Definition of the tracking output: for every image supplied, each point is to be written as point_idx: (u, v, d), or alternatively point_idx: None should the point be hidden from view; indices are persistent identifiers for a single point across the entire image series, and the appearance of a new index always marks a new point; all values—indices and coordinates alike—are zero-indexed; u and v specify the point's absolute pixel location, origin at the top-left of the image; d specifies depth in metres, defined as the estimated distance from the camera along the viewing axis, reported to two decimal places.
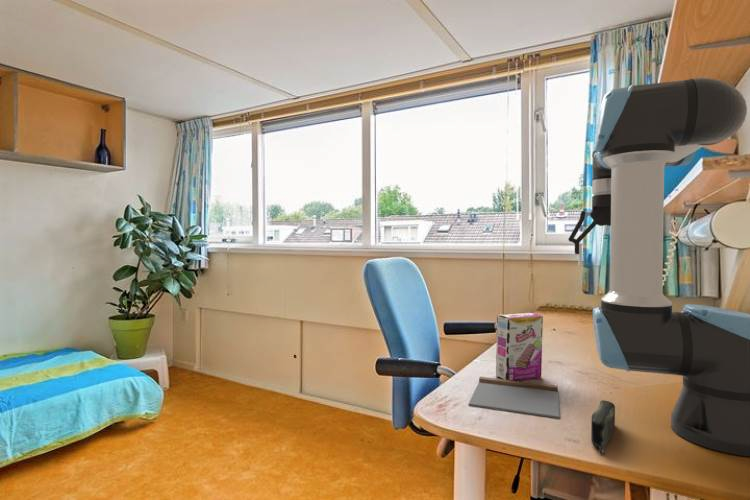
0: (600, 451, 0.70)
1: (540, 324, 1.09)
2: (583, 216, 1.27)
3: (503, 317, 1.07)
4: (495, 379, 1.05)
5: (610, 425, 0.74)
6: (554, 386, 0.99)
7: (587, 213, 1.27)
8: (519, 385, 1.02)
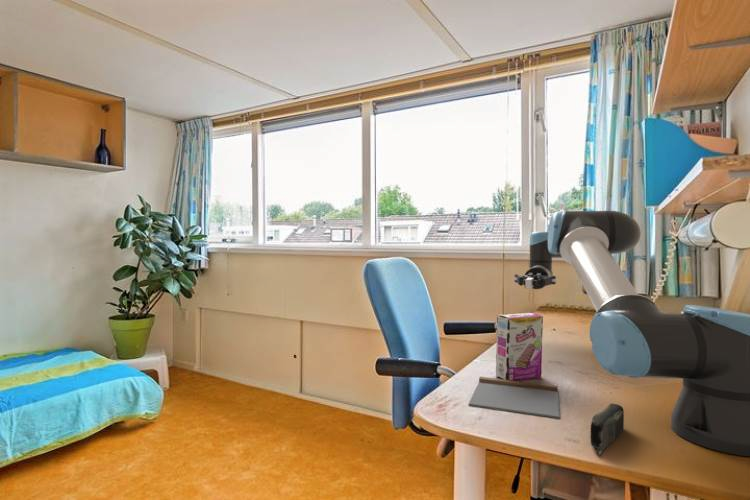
0: (597, 452, 0.70)
1: (540, 324, 1.09)
2: None
3: (503, 317, 1.07)
4: (495, 379, 1.05)
5: (612, 427, 0.73)
6: (554, 386, 0.99)
7: None
8: (519, 385, 1.02)
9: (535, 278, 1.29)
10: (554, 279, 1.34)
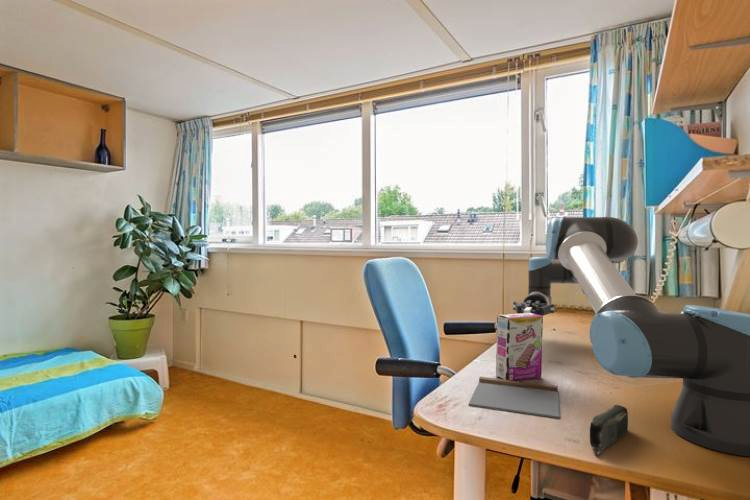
0: (595, 453, 0.70)
1: (540, 324, 1.09)
2: (517, 302, 1.39)
3: (503, 317, 1.07)
4: (495, 379, 1.05)
5: (612, 428, 0.73)
6: (554, 386, 0.99)
7: None
8: (519, 385, 1.02)
9: (533, 308, 1.28)
10: (553, 308, 1.34)
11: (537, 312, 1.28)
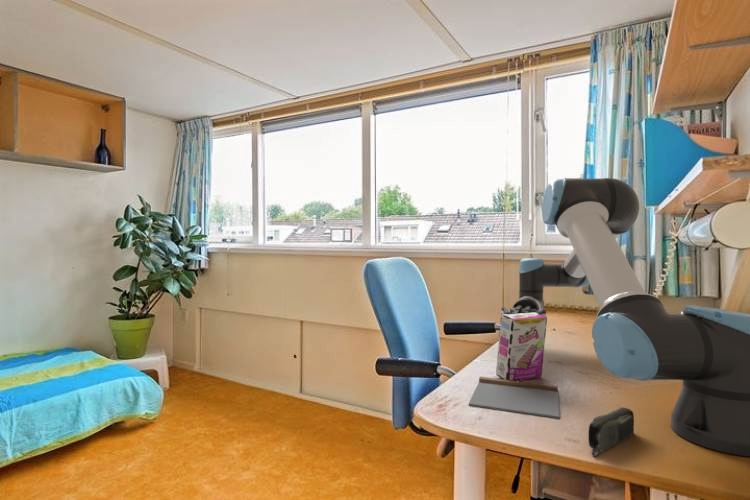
0: (592, 453, 0.70)
1: (544, 325, 1.07)
2: (505, 308, 1.27)
3: (507, 318, 1.06)
4: (495, 379, 1.05)
5: (613, 430, 0.72)
6: (554, 386, 0.99)
7: None
8: (519, 385, 1.02)
9: None
10: (544, 314, 1.22)
11: None
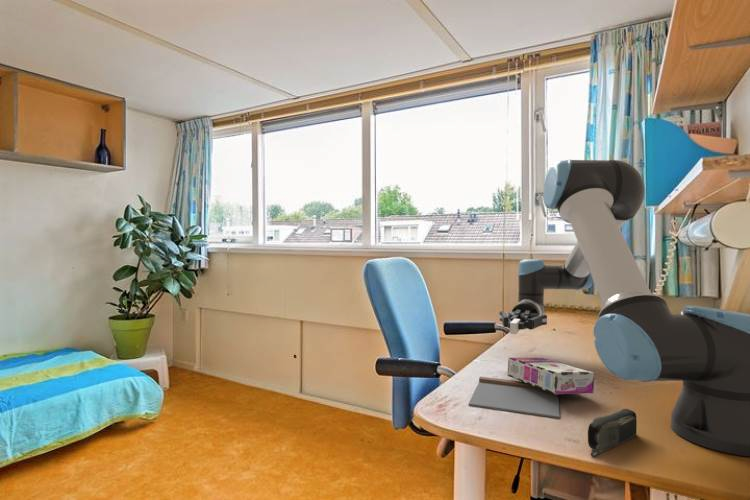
0: (591, 453, 0.70)
1: None
2: (504, 312, 1.20)
3: (555, 384, 0.91)
4: (495, 379, 1.05)
5: (613, 431, 0.72)
6: None
7: None
8: (519, 385, 1.02)
9: (522, 319, 1.09)
10: (545, 319, 1.15)
11: (526, 325, 1.09)
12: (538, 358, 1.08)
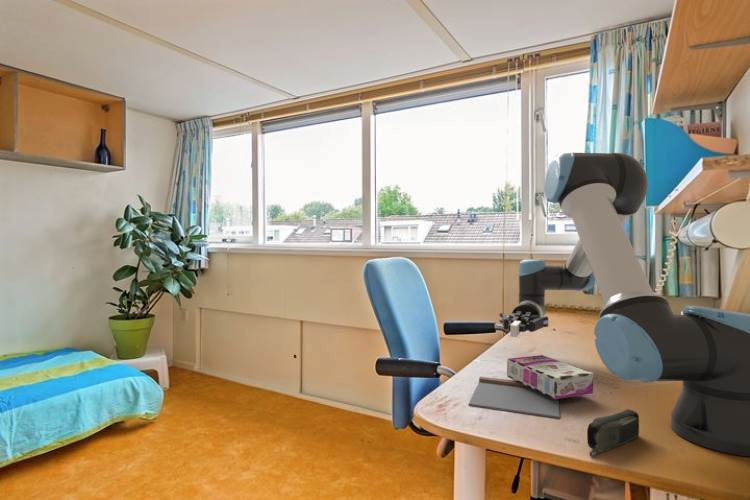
0: (590, 453, 0.70)
1: None
2: (504, 314, 1.17)
3: (554, 389, 0.91)
4: (495, 379, 1.05)
5: (613, 431, 0.72)
6: None
7: (506, 316, 1.18)
8: (519, 385, 1.02)
9: (523, 321, 1.06)
10: (546, 321, 1.12)
11: (527, 327, 1.06)
12: (537, 356, 1.07)
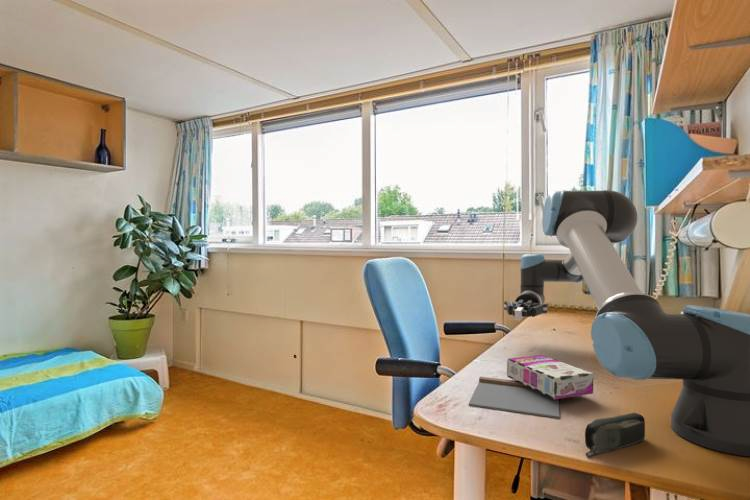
0: (586, 453, 0.70)
1: None
2: (508, 302, 1.32)
3: (554, 389, 0.91)
4: (495, 379, 1.05)
5: (613, 433, 0.71)
6: None
7: None
8: (519, 385, 1.02)
9: (525, 308, 1.21)
10: (545, 307, 1.27)
11: (529, 312, 1.21)
12: (537, 356, 1.07)
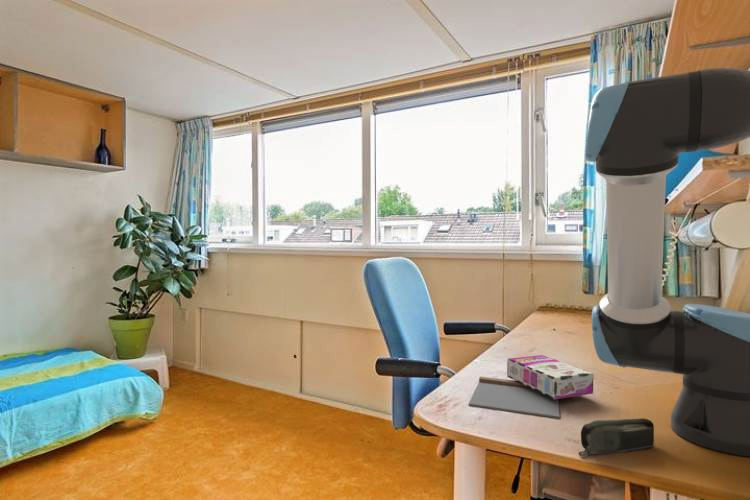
0: (579, 452, 0.70)
1: None
2: None
3: (554, 389, 0.91)
4: (495, 379, 1.05)
5: (611, 435, 0.70)
6: None
7: None
8: (519, 385, 1.02)
9: None
10: (666, 203, 1.05)
11: None
12: (537, 356, 1.07)
